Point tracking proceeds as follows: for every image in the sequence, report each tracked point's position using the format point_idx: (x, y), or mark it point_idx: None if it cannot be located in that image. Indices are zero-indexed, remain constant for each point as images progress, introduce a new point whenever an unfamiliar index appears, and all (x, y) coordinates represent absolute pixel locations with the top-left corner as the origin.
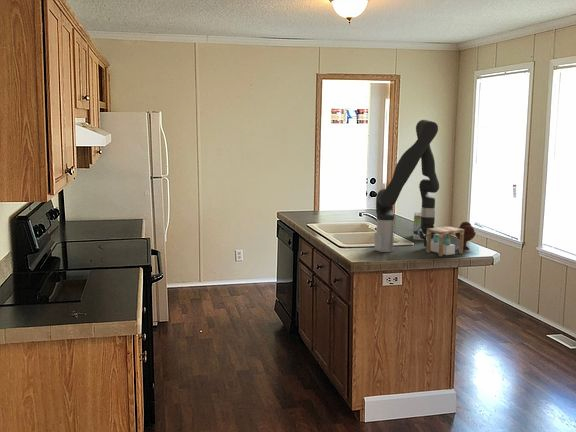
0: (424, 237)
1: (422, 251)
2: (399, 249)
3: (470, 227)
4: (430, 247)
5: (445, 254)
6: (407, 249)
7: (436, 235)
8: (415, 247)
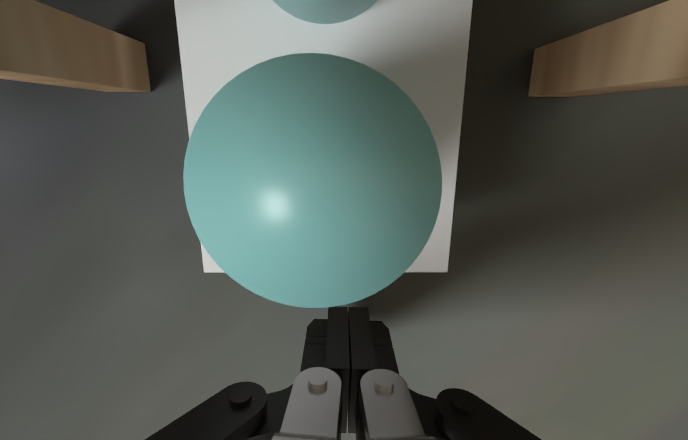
0: (470, 426)
1: (549, 186)
2: (681, 403)
3: None
4: (594, 28)
5: None
6: (604, 366)
7: (403, 94)
8: None
